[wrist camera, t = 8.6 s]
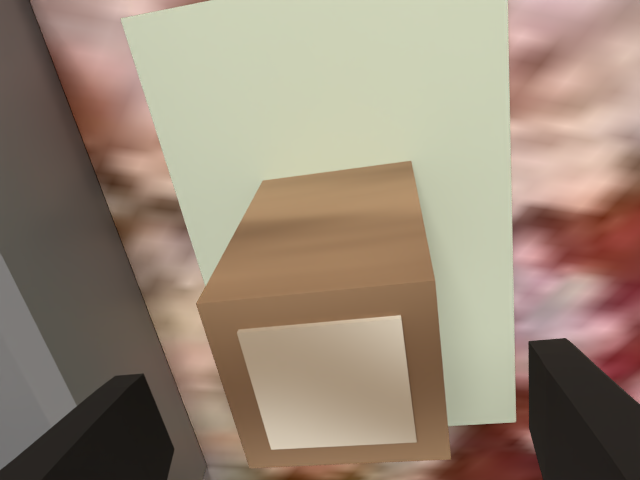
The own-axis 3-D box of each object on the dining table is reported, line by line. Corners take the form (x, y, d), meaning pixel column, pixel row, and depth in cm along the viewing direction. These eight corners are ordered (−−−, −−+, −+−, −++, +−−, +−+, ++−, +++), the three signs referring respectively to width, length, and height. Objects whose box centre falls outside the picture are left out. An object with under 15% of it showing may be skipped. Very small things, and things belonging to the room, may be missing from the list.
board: (511, 408, 18) (515, 422, 17) (256, 424, 19) (253, 437, 19) (500, -58, 12) (506, -59, 11) (130, 16, 13) (120, 18, 13)
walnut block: (423, 290, 15) (451, 463, 10) (291, 303, 16) (248, 472, 11) (411, 160, 14) (435, 283, 8) (262, 180, 14) (194, 307, 9)
